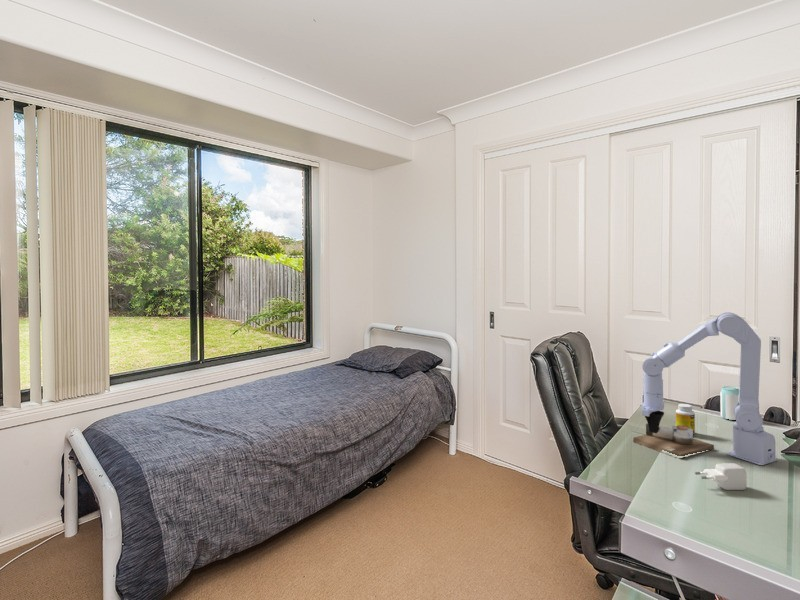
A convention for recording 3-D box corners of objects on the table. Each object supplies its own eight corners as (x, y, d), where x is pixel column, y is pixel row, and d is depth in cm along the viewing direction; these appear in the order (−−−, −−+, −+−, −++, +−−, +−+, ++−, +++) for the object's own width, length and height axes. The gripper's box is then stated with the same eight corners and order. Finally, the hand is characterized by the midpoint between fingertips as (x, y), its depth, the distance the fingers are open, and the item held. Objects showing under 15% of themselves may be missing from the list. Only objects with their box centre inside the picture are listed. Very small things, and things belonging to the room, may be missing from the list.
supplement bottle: (693, 437, 145) (692, 408, 144) (674, 434, 149) (673, 405, 148) (696, 433, 148) (696, 404, 148) (678, 429, 152) (677, 402, 152)
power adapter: (704, 492, 108) (704, 470, 108) (692, 483, 113) (692, 462, 113) (749, 491, 108) (749, 469, 107) (735, 482, 112) (735, 461, 112)
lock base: (713, 449, 134) (713, 444, 134) (680, 459, 128) (680, 454, 128) (665, 433, 149) (665, 429, 149) (633, 441, 143) (633, 437, 143)
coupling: (694, 441, 137) (694, 426, 137) (690, 445, 134) (689, 430, 133) (649, 431, 147) (649, 418, 147) (644, 435, 143) (643, 421, 143)
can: (732, 415, 165) (732, 385, 165) (748, 421, 158) (748, 389, 158) (716, 416, 165) (715, 386, 165) (731, 422, 158) (731, 390, 158)
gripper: (648, 386, 149) (648, 424, 150) (631, 394, 140) (632, 434, 141) (670, 390, 144) (671, 429, 145) (655, 398, 135) (655, 440, 135)
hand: (653, 432), depth 142 cm, fingers closed
